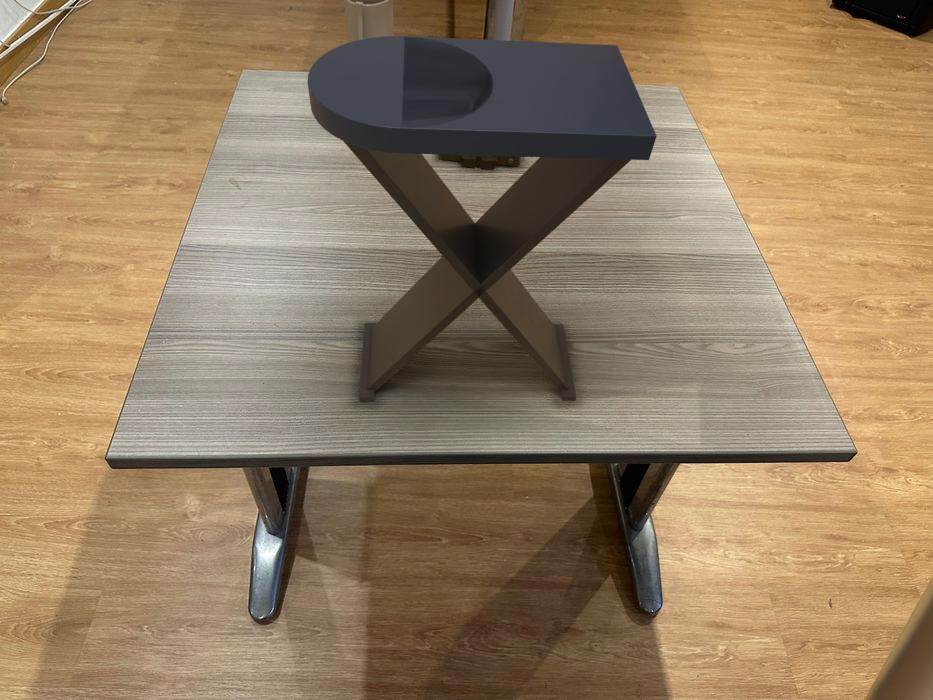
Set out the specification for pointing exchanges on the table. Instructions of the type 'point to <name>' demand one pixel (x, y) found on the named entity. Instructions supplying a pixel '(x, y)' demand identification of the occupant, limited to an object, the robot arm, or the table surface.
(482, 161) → the landmine
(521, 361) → the table surface
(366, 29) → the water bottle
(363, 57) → the x-leg side table
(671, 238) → the table surface
